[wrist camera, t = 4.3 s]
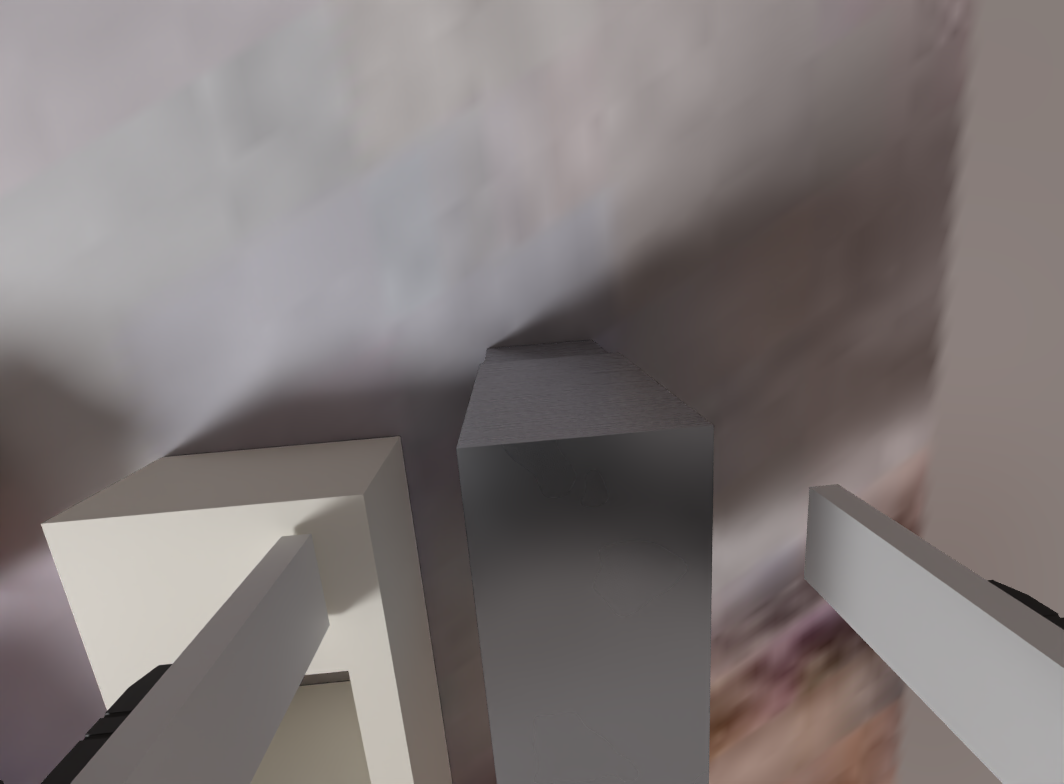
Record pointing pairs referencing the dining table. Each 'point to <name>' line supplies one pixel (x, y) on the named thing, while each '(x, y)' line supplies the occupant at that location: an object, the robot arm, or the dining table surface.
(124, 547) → the block with rectangular holes
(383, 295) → the dining table surface
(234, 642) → the robot arm
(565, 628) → the gray rectangular block
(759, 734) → the dining table surface
